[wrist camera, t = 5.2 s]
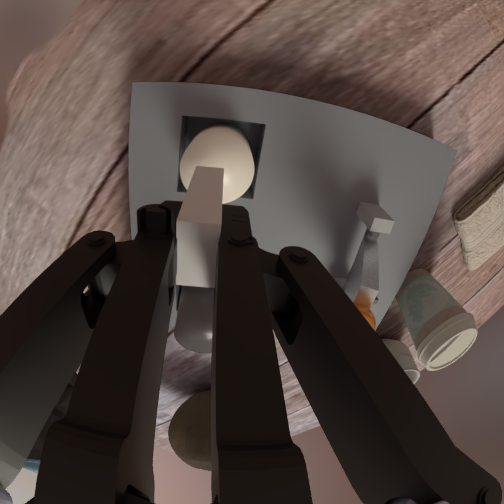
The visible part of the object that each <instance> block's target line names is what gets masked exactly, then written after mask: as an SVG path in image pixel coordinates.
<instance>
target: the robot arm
mask: <svg viewBox="0 0 504 504" xmlns="http://www.w3.org/2000/svg"><path fill="white" fill-rule="evenodd" d="M223 177H224V168H216V167H205V166H196V168H195V171H194V173H193V176H192V179H191V181H190V184H189V187H188V189H187V192H186V195H185V198H184V200H183V201H170V200H165V201H164V202H162V203H161V204H149V205H145V206H142V207H140V208H139V209H138V210H137V231H138V232H137V234H136V236H135V238H134V239H133V240H130V241H123V242H115V236H114V235H113V234H112V233H110V232H107V231H93V232H91V233H88V234H86V235H85V236H83V237H82V238H80V239H79V240H78V241H77V242H76V243H75V244H73V245H72V246H71V247H70V248H69V249H68V250H67V251H65V252H64V253H63V254H62V255H61V256H60V257H59V258H58V259H57V260H55V261H54V262H53V263H52V264H51V265H50V266H49V267H48V268H47V269H46V270H45V271H44V272H43V273H42V274H40V275H39V276H38V277H37V278H36V279H35V280H34V281H33V282H32V283H31V284H30V285H29V286H28V287H27V288H26V289H25V290H24V291H23V292H22V293H21V294H20V295H19V297H18V298H17V299H16V300H15V301H14V302H13V303H12V304H11V305H10V306H9V307H8V308H7V309H6V310H5V312H4V313H3V314H2V315H1V316H0V504H12V498H11V496H10V494H9V493H8V492H7V491H6V490H5V489H6V487H8V486H9V485H10V484H11V482H12V481H13V480H14V479H15V477H16V476H17V474H18V473H19V472H20V470H21V469H22V467H23V468H25V469H28V470H31V471H33V472H36V473H38V476H37V482H36V489H35V496H34V497H33V498H32V499H31V500H30V501H28V502H27V503H25V504H154V474H153V449H154V437H155V427H156V417H157V407H158V399H159V391H160V383H161V375H162V368H163V361H164V354H165V348H166V341H167V335H168V329H169V323H170V318H171V312H172V306H173V301H174V296H175V279H176V285H184V286H196V287H208V288H214V298H213V310H212V312H213V326H212V364H211V468H212V477H211V481H212V482H211V490H212V504H313V503H312V497H311V491H310V485H309V480H308V473H307V468H306V463H305V460H304V456H303V454H302V452H301V449H300V448H299V447H298V446H297V445H295V444H294V443H293V441H292V439H291V436H290V431H289V425H288V419H287V412H286V406H285V400H284V394H283V388H282V382H281V376H280V370H279V364H278V358H277V352H276V346H275V340H274V334H273V331H274V333H275V335H276V337H277V339H278V341H279V343H280V345H281V347H282V349H283V351H284V353H285V355H286V357H287V359H288V361H289V363H290V365H291V367H292V369H293V371H294V373H295V375H296V377H297V379H298V381H299V383H300V385H301V387H302V389H303V391H304V393H305V395H306V397H307V399H308V401H309V403H310V405H311V407H312V409H313V411H314V413H315V415H316V417H317V419H318V421H319V423H320V425H321V427H322V429H323V431H324V433H325V435H326V437H327V439H328V441H329V442H330V445H331V447H332V448H333V450H334V452H335V454H336V456H337V458H338V460H339V462H340V464H341V466H342V468H343V470H344V471H345V474H346V475H347V477H348V479H349V481H350V483H351V485H352V487H353V488H354V490H355V492H356V493H357V495H358V497H359V498H360V500H361V501H362V502H363V503H364V504H501V501H502V490H501V487H500V483H499V482H498V481H497V480H496V478H494V477H493V476H492V475H490V474H489V473H488V472H486V471H485V470H484V469H483V468H481V467H480V466H479V465H478V464H477V463H475V462H474V461H473V460H471V459H470V458H469V457H468V456H466V455H465V454H464V453H463V452H462V451H460V450H459V449H458V448H457V447H455V445H454V444H453V442H452V441H451V439H450V438H449V436H448V434H447V433H446V431H445V430H444V428H443V427H442V425H441V424H440V422H439V421H438V419H437V418H436V416H435V415H434V413H433V412H432V410H431V409H430V407H429V406H428V404H427V403H426V401H425V400H424V398H423V397H422V395H421V394H420V392H419V391H418V390H417V388H416V387H415V385H414V384H413V382H412V381H411V380H410V378H409V377H408V375H407V374H406V373H405V371H404V370H403V368H402V367H401V366H400V364H399V363H398V361H397V360H396V359H395V357H394V356H393V355H392V353H391V352H390V351H389V349H388V348H387V346H386V345H385V344H384V342H383V341H382V340H381V338H380V337H379V336H378V334H377V333H376V332H375V330H374V329H373V328H372V326H371V325H370V324H369V323H368V321H367V320H366V319H365V317H364V316H363V315H362V313H361V312H360V311H359V310H358V308H357V307H356V306H355V304H354V303H353V302H352V301H351V299H350V298H349V297H348V295H347V294H346V293H345V292H344V290H343V289H342V288H341V287H340V285H339V284H338V283H337V282H336V280H335V279H334V278H333V277H332V275H331V274H330V273H329V272H328V270H327V269H326V268H325V267H324V266H323V264H322V263H321V262H320V261H319V259H318V258H317V257H316V256H315V255H314V254H313V253H312V252H311V251H309V250H307V249H305V248H302V247H299V246H288V247H284V248H282V249H281V250H280V253H279V255H277V254H274V253H270V252H267V251H265V250H263V249H261V248H259V247H258V242H257V240H256V238H255V237H253V236H252V230H251V224H250V218H249V211H248V210H247V209H246V208H245V207H244V206H237V205H227V204H222V199H223ZM87 285H88V290H87V292H86V293H83V291H84V289H85V288H86V287H87ZM80 364H81V366H80ZM79 366H80V369H79V372H78V375H76V374H75V372H76V371H77V369H78V368H79Z"/></svg>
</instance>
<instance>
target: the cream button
mask: <svg viewBox="0 0 504 504" xmlns="http://www.w3.org/2000/svg"><path fill="white" fill-rule="evenodd" d="M196 166H205V167H216V168H224V177H223V199H222V204H224V203H228V202H231V201H234V200H236V199H237V198H239V197H240V196H242V195H243V194H244V193H245V192H246V191H247V189H248V188H249V186H250V185H251V183H252V180H253V177H254V161H253V157H252V153H251V149H250V145H249V142H248V139H247V137H246V135H245V134H244V133H243V132H242V130H240V129H239V128H238V127H236V126H234V125H232V124H229V123H225V122H217V123H212V124H209V125H207V126H205V127H204V128H202V129H201V130H200V131H199V132H198V133H197V135H196V136H195V137H194V139H193V140H192V142H191V143H190V145H189V146H188V147H187V149H186V150H185V152H184V154H183V156H182V158H181V162H180V176H181V180H182V182H183V185H184V186H185V188H186V189H188V187H189V184H190V181H191V179H192V176H193V173H194V171H195V168H196Z"/></svg>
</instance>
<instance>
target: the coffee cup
mask: <svg viewBox="0 0 504 504" xmlns="http://www.w3.org/2000/svg"><path fill="white" fill-rule="evenodd" d="M395 297H396V299H397V302H398V304H399V307H400V309H401V311H402V314H403V316H404V319H405V321H406V324H407V327H408V329H409V332H410V335H411V337H412V340H413V343H414V346H415V348H416V351H417V353H416V358H417V360H418V361H419V362H420V364H422V365H424V366H425V367H426V369H428V370H430V371H435V370H439V369H442V368H444V367H446V366H448V365H450V364H451V363H453V362H454V361H456V360H457V359H459V358H460V357H461V356H462V355H463V354H464V353H465V352H466V351H467V350H468V349H469V348H470V347H471V345H472V344H473V343H474V341H475V339H476V337H477V329H476V323H475V320H474V317H473V315H472V314H471V313H467V312H466V311H465V309H464V308H463V307H462V306H461V305H460V304H459V303H458V302H457V301H456V300H455V299H454V298H453V297H452V296H451V294H450V293H449V292H448V291H447V290H446V289H445V288H444V287H443V286H442V285H441V284H440V283H439V282H438V281H437V280H436V279H435V278H434V277H433V276H432V275H431V274H430V273H429V272H428V271H426V270H425V269H422V268H419V269H414V270H412V271H410V272H408V273H407V275H406V277H405V279H404V281H403V283H402V285H401V287H400V289H399V290H398V292H397V294H396V296H395Z"/></svg>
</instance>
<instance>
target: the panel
mask: <svg viewBox="0 0 504 504" xmlns="http://www.w3.org/2000/svg"><path fill="white" fill-rule="evenodd" d="M217 122H225V123H229V124H232V125H234V126H236V127H238V128H239V129H240V130H242V132H243V133H244V134H245V135H246V137H247V139H248V142H249V145H250V149H251V153H252V157H253V161H254V177H253V180H252V183H251V185H250V186H249V188H248V189H247V191H246V192H245V193H244V194H243V195H242V196H240V197H239V198H237V199H236V200H234V201H231V202H228V203H224V204H227V205H237V206H244V207H245V208H246V209H247V210H248V211H249V218H250V224H251V230H252V236H253V237H255V238H256V240H257V242H258V247H259V248H261V249H263V250H265V251H267V252H270V253H274V254H277V255H279V253H280V250H281V249H282V248H284V247H288V246H299V247H302V248H305V249H307V250H309V251H311V252H312V253H313V254H314V255H315V256H316V257H317V258H318V259H319V261H320V262H321V263H322V264H323V266H324V267H325V268H326V269H327V270H328V272H329V273H330V274H331V275H332V277H333V278H334V279H335V280H336V282H337V283H338V284H339V285H340V287H341V288H342V289H343V290H344V288H343V286H344V284H345V282H346V279H347V277H348V275H349V272H350V270H351V267H352V265H353V263H354V260H355V258H356V255H357V253H358V250H359V247H360V245H361V242H362V240H363V237H364V234H365V232H366V229H367V228H368V229H369V231H373V232H379V233H380V234H379V237H378V239H377V242H378V264H379V292H378V294H377V296H376V298H375V300H374V302H373V304H372V305H371V307H370V310H371V311H372V313H373V314H374V317H375V321H376V327H375V330H376V328H377V327H378V325H379V324H380V322H381V320H382V319H383V317H384V315H385V313H386V312H387V310H388V308H389V307H390V305H391V303H392V301H393V300H394V298H395V296H396V294H397V292H398V290H399V289H400V287H401V285H402V283H403V281H404V279H405V277H406V275H407V273H408V271H409V269H410V267H411V265H412V263H413V261H414V259H415V257H416V255H417V253H418V251H419V249H420V247H421V245H422V242H423V240H424V238H425V236H426V233H427V231H428V229H429V226H430V224H431V222H432V219H433V217H434V214H435V212H436V209H437V207H438V204H439V202H440V199H441V196H442V194H443V191H444V188H445V185H446V183H447V180H448V177H449V174H450V171H451V168H452V165H453V161H454V158H455V155H456V152H457V150H455V149H453V148H451V147H449V146H447V145H445V144H443V143H440V142H438V141H436V140H434V139H431V138H429V137H427V136H424V135H422V134H420V133H417V132H415V131H412V130H410V129H407V128H404V127H402V126H399V125H396V124H394V123H391V122H388V121H385V120H382V119H379V118H376V117H373V116H370V115H367V114H364V113H361V112H357V111H354V110H351V109H347V108H343V107H340V106H336V105H332V104H328V103H324V102H320V101H316V100H312V99H307V98H303V97H298V96H293V95H288V94H283V93H277V92H271V91H265V90H259V89H252V88H244V87H236V86H227V85H216V84H204V83H187V82H132V92H131V105H130V123H129V205H130V223H131V237H132V240H133V239H134V238H135V236H136V234H137V232H138V231H137V210H138V209H139V208H140V207H142V206H145V205H149V204H161V203H162V202H164V201H165V200H170V201H183V200H184V198H185V195H186V192H187V189H186V188H185V186H184V185H183V182H182V180H181V176H180V162H181V158H182V156H183V154H184V152H185V150H186V149H187V147H188V146H189V145H190V143H191V142H192V140H193V139H194V137H195V136H196V135H197V133H198V132H199V131H200V130H201V129H202V128H204V127H205V126H207V125H209V124H212V123H217ZM182 286H183V285H176V279H175V296H174V301H173V306H172V312H171V318H170V323H169V326H175V324H176V318H177V312H178V307H179V301H180V296H181V291H182ZM273 333H274V331H273Z"/></svg>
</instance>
